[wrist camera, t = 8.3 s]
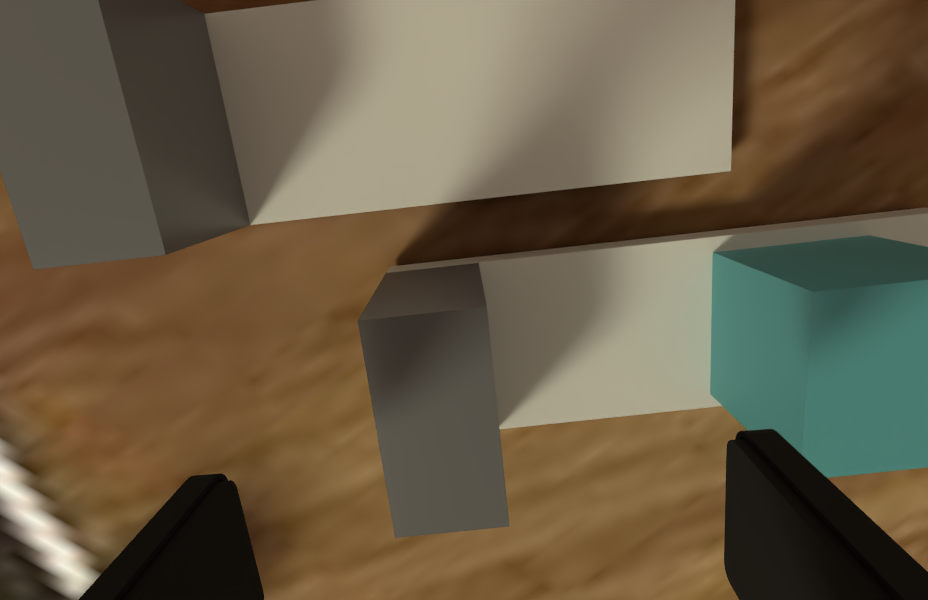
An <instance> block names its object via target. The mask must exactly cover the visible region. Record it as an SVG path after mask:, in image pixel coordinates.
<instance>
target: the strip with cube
mask: <svg viewBox="0 0 928 600" xmlns="http://www.w3.org/2000/svg"><path fill="white" fill-rule="evenodd" d="M867 235H871V236H876V237H881V238H886V239H891V240H896V241H901V242H906V243H911V244H916V245H921V246H926V247H928V208H915V209H906V210H897V211H888V212H879V213H870V214H861V215H852V216H843V217H834V218H825V219H816V220H807V221H798V222H789V223H780V224H771V225H761V226H752V227H743V228H734V229H725V230H716V231H707V232H698V233H689V234H680V235H671V236H662V237H653V238H644V239H635V240H626V241H617V242H608V243H599V244H589V245H580V246H571V247H562V248H553V249H544V250H535V251H526V252H517V253H508V254H499V255H490V256H481V257H472V258H463V259H454V260H445V261H436V262H426V263H417V264H408V265H399V266H390V267H389V269H388V270H387V272H386V274H385V275H384V277H383V279H382V280H381V282H380V284H379V286H378V287H377V289H376V291H375V292H374V294H373V296H372V297H371V299H370V301H369V302H368V304H367V306H366V308H365V309H364V311H363V313H362V314H361V316H360V318H359V319H358V325H359V331H360V337H361V343H362V348H363V354H364V360H365V366H366V372H367V377H368V383H369V389H370V395H371V401H372V406H373V412H374V418H375V424H376V430H377V435H378V441H379V447H380V453H381V459H382V464H383V470H384V476H385V482H386V488H387V493H388V499H389V505H390V511H391V517H392V522H393V528H394V534H395V538H398V537H408V536H418V535H428V534H438V533H448V532H458V531H468V530H478V529H487V528H497V527H507V526H509V518H508V508H507V498H506V488H505V479H504V469H503V459H502V449H501V440H500V430H499V429H505V428H515V427H524V426H534V425H543V424H553V423H563V422H572V421H582V420H591V419H601V418H610V417H620V416H630V415H639V414H649V413H658V412H668V411H677V410H687V409H697V408H706V407H716V406H722V405H721V404H720V403H719V402H718V401H717V400H716V399H715V398H714V397H713V396H712V395H711V394H710V374H711V316H712V257H713V252H721V251H730V250H739V249H748V248H757V247H766V246H775V245H785V244H794V243H803V242H812V241H821V240H830V239H839V238H848V237H858V236H867Z"/></svg>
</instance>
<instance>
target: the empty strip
mask: <svg viewBox="0 0 928 600" xmlns="http://www.w3.org/2000/svg"><path fill="white" fill-rule="evenodd" d="M734 30H735V0H315V1H306V2H298V3H290V4H281V5H273V6H265V7H256V8H248V9H240V10H231V11H223V12H215V13H206V14H204V13H202V12H200V11H198V10H196V9H195V8H193V7H191V6H189V5H187V4H185V3H184V2H182V1H180V0H0V171H1V174H2V177H3V180H4V183H5V186H6V189H7V192H8V195H9V198H10V201H11V204H12V207H13V210H14V213H15V216H16V219H17V222H18V225H19V228H20V231H21V234H22V237H23V240H24V243H25V245H26V248H27V251H28V254H29V257H30V260H31V263H32V266H33V269H43V268H52V267H61V266H70V265H79V264H88V263H96V262H105V261H114V260H123V259H132V258H141V257H150V256H159V255H166V254H169V253H172V252H175V251H178V250H181V249H184V248H186V247H189V246H192V245H195V244H198V243H201V242H203V241H206V240H209V239H212V238H215V237H218V236H220V235H223V234H226V233H229V232H232V231H235V230H237V229H240V228H243V227H246V226H249V225H254V224H263V223H272V222H281V221H290V220H299V219H308V218H316V217H325V216H334V215H343V214H352V213H361V212H370V211H379V210H388V209H397V208H405V207H414V206H423V205H432V204H441V203H450V202H459V201H468V200H477V199H485V198H494V197H503V196H512V195H521V194H530V193H539V192H548V191H557V190H566V189H574V188H583V187H592V186H601V185H610V184H619V183H628V182H637V181H646V180H654V179H663V178H672V177H681V176H690V175H699V174H708V173H717V172H726V171H731V147H732V108H733V69H734Z"/></svg>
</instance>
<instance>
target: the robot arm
mask: <svg viewBox="0 0 928 600" xmlns="http://www.w3.org/2000/svg"><path fill="white" fill-rule="evenodd" d="M724 564H725V570H726V574H727V577H728V580H729V582H730V584H731V586H732V588H733V589H734V591H735V593H736V595H737V596H738V598H739V600H928V572H927V571H926V570H925V569H924V568H923V567H922V566H921V565H920V564H919V563H917V562H916V561H915V560H914V559H913V558H912V557H911V556H910V555H909V554H908V553H907V552H906V551H905V550H903V549H902V548H901V547H900V546H899V545H898V544H897V543H896V542H895V541H894V540H893V539H892V538H891V537H890V536H888V535H887V534H886V533H885V532H884V531H883V530H882V529H881V528H880V527H879V526H878V525H877V524H876V523H875V522H873V521H872V520H871V519H870V518H869V517H868V516H867V515H866V514H865V513H864V512H863V511H862V510H861V509H859V508H858V507H857V506H856V505H855V504H854V503H853V502H852V501H851V500H850V499H849V498H848V497H847V496H846V495H844V494H843V493H842V492H841V491H840V490H839V489H838V488H837V487H836V486H835V485H834V484H833V483H832V482H831V481H829V480H828V479H827V478H826V477H825V476H824V475H823V474H822V473H821V472H820V471H819V470H818V469H817V468H816V467H814V466H813V465H812V464H811V463H810V462H809V461H808V460H807V459H806V458H805V457H804V456H803V455H802V454H800V453H799V452H798V451H797V450H796V449H795V448H794V447H793V446H792V445H791V444H790V443H789V442H788V441H787V440H785V439H784V438H783V437H782V436H781V435H780V434H779V433H778V432H777V431H775V430H774V429H761V430H749V431H740V432H738V433H737V435H736V439H735V440H730V441H728V444H727V458H726V503H725V549H724ZM79 600H264V594H263V589H262V585H261V581H260V577H259V573H258V569H257V565H256V561H255V557H254V553H253V549H252V546H251V542H250V538H249V534H248V530H247V526H246V522H245V518H244V514H243V510H242V506H241V502H240V498H239V494H238V490H237V487H236V484H235V483H234V482H233V481H231V480H230V481H228V479H227V478H226V476H225V475H223V474H210V475H197V476H191V477H190V478H188V479H187V480H186V481H185V482H184V483H183V485H182V486H181V487H180V488H179V489H178V490H177V491H176V492H175V493H174V495H173V496H172V497H171V498H170V499H169V500H168V501H167V502H166V503H165V505H164V506H163V507H162V508H161V509H160V510H159V511H158V512H157V513H156V515H155V516H154V517H153V518H152V519H151V520H150V521H149V522H148V523H147V524H146V526H145V527H144V528H143V529H142V530H141V531H140V532H139V533H138V534H137V536H136V537H135V538H134V539H133V540H132V541H131V542H130V543H129V544H128V546H127V547H126V548H125V549H124V550H123V551H122V552H121V553H120V554H119V556H118V557H117V558H116V559H115V560H114V561H113V562H112V563H111V564H110V565H109V567H108V568H107V569H106V570H105V571H104V572H103V573H102V574H101V575H100V577H99V578H98V579H97V580H96V581H95V582H94V583H93V584H92V585H91V587H90V588H89V589H88V590H87V591H86V592H85V593H84V594H83V595H82V596H81V598H80V599H79Z"/></svg>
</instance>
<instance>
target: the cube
mask: <svg viewBox="0 0 928 600" xmlns="http://www.w3.org/2000/svg"><path fill="white" fill-rule="evenodd" d="M710 394H711V395H712V396H713V397H714V398H715V399H716V400H717V401H718V402H719V403H720V404H721V405H722V406H723V407H724V408H725V409H726V410H727V411H728V412H729V413H730V414H731V415H733V416H734V417H735V418H736V419H737V420H738V421H739V422H740V423H741V424H742V425H743V426H744V427H745V428H746V429H747V430H748V431H749V430H761V429H774V430H775V431H777V432H778V433H779V434H780V435H781V436H782V437H783V438H784V439H785V440H787V441H788V442H789V443H790V444H791V445H792V446H793V447H794V448H795V449H796V450H797V451H798V452H799V453H800V454H802V455H803V456H804V457H805V458H806V459H807V460H808V461H809V462H810V463H811V464H812V465H813V466H814V467H816V468H817V469H818V470H819V471H820V472H821V473H822V474H823V475H824V476H825V477H826V478H827V477H837V476H847V475H857V474H866V473H876V472H886V471H896V470H906V469H916V468H926V467H928V247H926V246H921V245H916V244H911V243H906V242H901V241H896V240H891V239H886V238H881V237H876V236H871V235H867V236H858V237H848V238H839V239H830V240H821V241H812V242H803V243H794V244H785V245H775V246H766V247H757V248H748V249H739V250H730V251H721V252H713V257H712V316H711V374H710Z"/></svg>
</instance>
